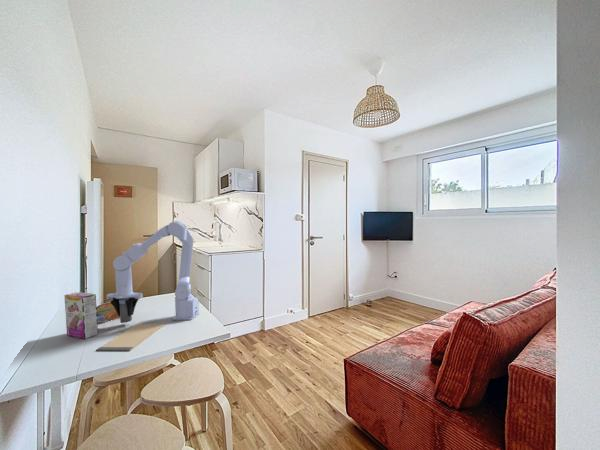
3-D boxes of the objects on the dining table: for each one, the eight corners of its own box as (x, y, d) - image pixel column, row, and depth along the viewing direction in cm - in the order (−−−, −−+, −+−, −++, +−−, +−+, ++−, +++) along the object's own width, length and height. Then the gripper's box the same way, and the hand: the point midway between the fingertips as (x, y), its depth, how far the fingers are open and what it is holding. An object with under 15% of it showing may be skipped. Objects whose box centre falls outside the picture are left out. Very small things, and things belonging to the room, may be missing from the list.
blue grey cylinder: (134, 318, 109) (133, 297, 109) (127, 322, 105) (126, 300, 105) (125, 318, 109) (123, 297, 109) (117, 322, 105) (116, 300, 105)
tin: (95, 325, 108) (94, 306, 107) (92, 324, 109) (91, 305, 109) (133, 313, 120) (132, 296, 120) (130, 312, 122) (129, 295, 122)
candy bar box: (65, 336, 98) (63, 294, 98) (80, 330, 103) (78, 291, 102) (84, 340, 95) (82, 297, 94) (98, 334, 99) (96, 293, 99)
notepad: (165, 324, 107) (165, 323, 107) (129, 350, 86) (129, 349, 86) (138, 324, 108) (138, 323, 108) (96, 350, 87) (96, 349, 87)
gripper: (99, 286, 103) (101, 319, 103) (134, 286, 102) (135, 318, 103) (113, 282, 110) (115, 312, 110) (145, 281, 109) (146, 312, 110)
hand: (125, 315), depth 107 cm, fingers closed on blue grey cylinder, 4 cm apart
